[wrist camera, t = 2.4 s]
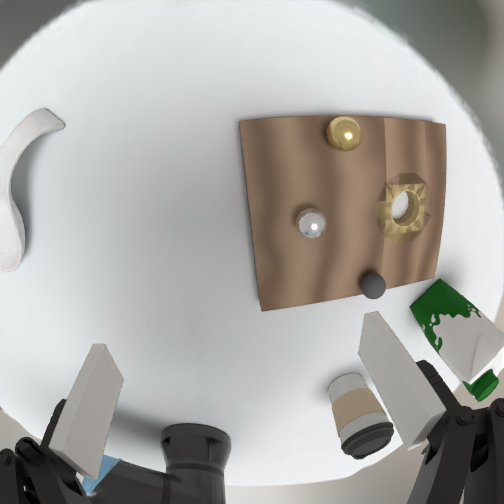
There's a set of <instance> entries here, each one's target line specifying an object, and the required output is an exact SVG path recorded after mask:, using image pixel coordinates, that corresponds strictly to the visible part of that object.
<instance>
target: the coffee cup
mask: <svg viewBox="0 0 504 504" xmlns="http://www.w3.org/2000/svg"><path fill="white" fill-rule="evenodd" d="M328 392H329V396H330V400H331V404H332V411H333V415H334V419H335V423H336V427H337V432H338V436H339V437H340V440H341V444H342V445H341V449H342V450H343V452H344V453H345V454H347V455H351V456H352V457H353V458H355V459H363V458H365V457H366V456H368V455H371V454H373V453H375V452H377V451H379V450H381V449H382V448H384V447H385V446H386V445H388V444H389V442H390V441H391V437H392V435H393V433H394V429H393V424H392V423H391V422H390V421H389V420H388V418H387V415H386V413H385V411H384V410H383V408H382V406H381V405H380V403H379V402H378V400H377V399H376V397H375V395H374V394H373V392H372V391H371V390H370V389H369V387H368V386H367V384H366V383H365V381H364V379H363V378H362V376H361V375H360V374H358V373H348V374H345V375H342V376H340V377H338V378H337V379H335V380H334V381H333V382H332V383H331V384H330V385H329V388H328Z"/></svg>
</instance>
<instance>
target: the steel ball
mask: <svg viewBox="0 0 504 504" xmlns="http://www.w3.org/2000/svg"><path fill="white" fill-rule="evenodd" d="M296 227H297V230H298V232H299V233H300V234H301V235H302V236H303V237H305V238H307V239H316V238H318V237H320V236H321V235H322V234H323V233H324V232H325V230H326V227H327V221H326V218H325V216H324V214H323V213H322V212H321V211H320V210H318V209H315V208H307V209H305V210H303V211H301V212H300V213H299V215H298V217H297V219H296Z"/></svg>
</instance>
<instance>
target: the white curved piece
mask: <svg viewBox="0 0 504 504" xmlns="http://www.w3.org/2000/svg"><path fill="white" fill-rule="evenodd" d="M64 127H65V125H64V123H63V122H62V121H61V120H59V119H58V118H57V117H56V116H54V115H53V114H52V113H51V112H49V111H48V110H46V109H38V110H35V111H33V112H32V113H30V114H29V115H28V116H26V117H25V118H24V119H23V120H22V121H21V122H20V123H19V124H18V125H17V126H16V127H15V129H14V130H13V131H12V133H11V134H10V135H9V137H8V138H7V139H6V141H5V142H4V144H3V146H2V147H1V149H0V270H2V271H4V272H12V271H14V270H16V269H17V268H18V267H19V265H20V263H21V261H22V258H23V255H24V250H25V229H24V224H23V219H22V216H21V214H20V212H19V210H18V208H17V206H16V204H15V202H14V200H13V197H12V194H11V178H12V174H13V171H14V168H15V166H16V164H17V162H18V160H19V158H20V156H21V155H22V153H23V152H24V150H25V149H26V148H27V147H28V145H29V144H30V143H31V142H33V141H34V140H35V139H36V138H38V137H39V136H41V135H43V134H46V133H49V132H53V131H59V130H62V129H63V128H64Z"/></svg>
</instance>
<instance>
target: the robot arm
mask: <svg viewBox="0 0 504 504" xmlns="http://www.w3.org/2000/svg"><path fill="white" fill-rule="evenodd" d="M358 354H359V356H360V358H361V360H362V362H363V364H364V366H365V368H366V369H367V371H368V373H369V375H370V377H371V379H372V381H373V383H374V385H375V387H376V389H377V391H378V392H379V394H380V396H381V398H382V400H383V402H384V404H385V406H386V408H387V410H388V412H389V414H390V416H391V418H392V420H393V422H394V424H395V427H396V429H397V431H398V433H399V435H400V437H401V439H402V441H403V443H404V445H405V447H406V449H407V450H410V449H412V448H415V447H417V446H419V445H421V444H422V443H423V442H424V441H425V439H426V438H427V439H428V441H429V444H428V445H427V446H426V448H425V449H424V450H423V452H422V454H424V453H425V452H426V453H425V456H424V459H423V462H422V465H421V468H420V471H419V474H418V477H417V479H416V482H415V485H414V487H413V490H412V492H411V495H410V497H409V500H408V502H407V504H459V503H460V499H461V496H462V493H463V489H464V488H465V489H464V503H463V504H504V398H498V399H496V400H494V401H493V402H492V403H491V405H490V406H489V407H486V408H481V409H477V410H472V409H471V408H470V407H467V406H461V405H460V404H459V402H458V401H457V400H456V398H455V397H454V395H453V394H452V392H451V391H450V389H449V388H448V386H447V385H446V383H445V382H443V379H442V378H441V376H440V375H438V372H437V371H436V369H435V368H434V367H433V365H431V364H430V363H428V362H427V361H425V360H421V361H419V362H416V363H415V361H414V360H413V358H412V357H411V356H410V354H409V353H408V351H407V350H406V349H405V347H404V346H403V344H402V343H401V342H400V340H399V339H398V337H397V336H396V335H395V333H394V332H393V331H392V329H391V328H390V326H389V325H388V324H387V322H386V321H385V320H384V318H383V317H382V316H381V314H380V313H379V312H378V311H375V312H371V313H366V314H364V321H363V327H362V334H361V339H360V345H359V351H358ZM123 381H124V379H123V377H122V375H121V373H120V371H119V370H118V368H117V366H116V364H115V362H114V360H113V358H112V356H111V354H110V353H109V351H108V349H107V347H106V345H105V344H93V345H92V347H91V349H90V351H89V353H88V355H87V357H86V360H85V362H84V364H83V366H82V368H81V370H80V372H79V374H78V376H77V378H76V381H75V383H74V385H73V387H72V390H71V392H70V394H69V396H68V399H67V400H66V399H62V400H61V401H60V402H59V403H58V405H57V406H56V407H55V410H54V412H53V414H52V415H53V416H52V417H51V419H50V423H49V424H48V427H47V429H46V432H45V434H44V437H43V439H42V442H41V445H40V446H39V445H38V444H37V443H36V442H35V441H34V440H33V439H32V438H30V437H23V438H21V439H20V440H19V441H18V442H17V443H16V447H15V453H14V452H13V451H12V450H10V449H7V448H6V449H3V450H2V451H1V452H0V504H225V503H226V502H225V486H224V469H225V466H226V463H227V460H228V458H229V455H230V452H231V440H230V437H229V436H228V435H227V434H226V433H224V432H222V431H221V430H218V429H216V428H213V427H209V426H204V425H197V424H179V425H174V426H170V427H168V428H166V429H165V430H163V432H162V434H161V441H160V443H161V448H162V452H163V455H164V459H165V463H166V473H163V472H159V471H156V470H152V469H148V468H145V467H141V466H138V465H135V464H131V463H128V462H125V461H123V460H122V459H116V458H113V457H110V456H107V455H103V452H104V448H105V444H106V440H107V436H108V432H109V429H110V425H111V421H112V418H113V414H114V411H115V407H116V404H117V401H118V397H119V394H120V391H121V388H122V384H123ZM76 472H78V473H80V474H81V475H82V476H83V477H84V480H83V482H82V485H81V483H80V481H79V479H78V478H77V477H76ZM24 486H25V488H26V489H25V491H24ZM464 486H465V487H464Z"/></svg>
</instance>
